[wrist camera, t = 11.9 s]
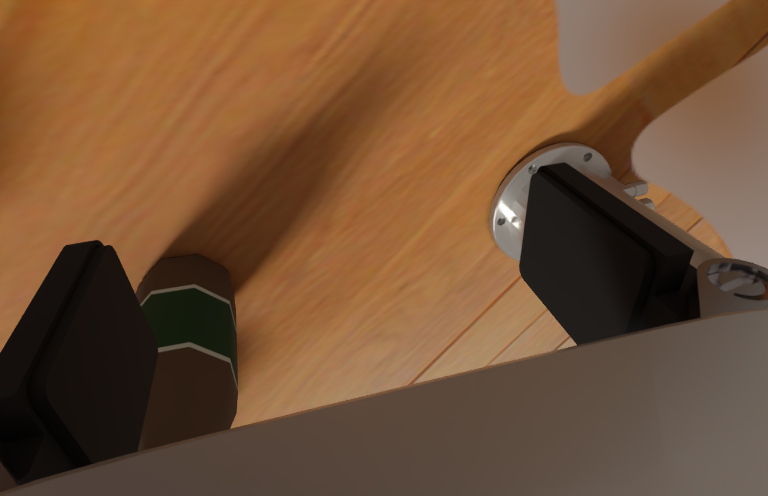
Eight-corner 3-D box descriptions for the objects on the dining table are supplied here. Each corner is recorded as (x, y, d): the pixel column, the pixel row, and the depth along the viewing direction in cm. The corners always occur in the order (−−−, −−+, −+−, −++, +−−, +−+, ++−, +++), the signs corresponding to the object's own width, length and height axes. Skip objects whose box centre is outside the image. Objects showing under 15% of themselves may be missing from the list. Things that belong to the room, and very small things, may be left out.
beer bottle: (115, 278, 38) (1, 640, 18) (201, 234, 37) (176, 551, 18) (177, 336, 42) (137, 671, 23) (253, 297, 42) (276, 600, 23)
